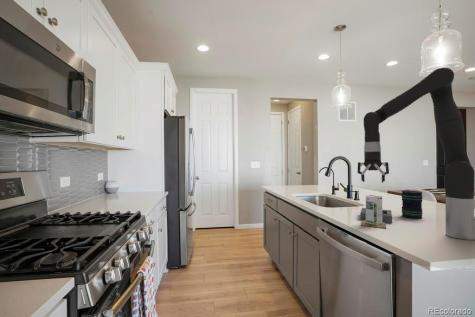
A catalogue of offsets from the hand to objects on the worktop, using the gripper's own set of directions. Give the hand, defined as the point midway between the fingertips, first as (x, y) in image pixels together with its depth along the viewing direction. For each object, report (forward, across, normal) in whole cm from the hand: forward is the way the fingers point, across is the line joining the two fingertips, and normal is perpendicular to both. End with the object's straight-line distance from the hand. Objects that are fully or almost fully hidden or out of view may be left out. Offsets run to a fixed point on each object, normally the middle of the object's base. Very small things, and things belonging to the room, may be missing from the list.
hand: (373, 182), depth 125 cm
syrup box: (+22, 0, 0) cm, 22 cm away
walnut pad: (+22, 0, 0) cm, 22 cm away
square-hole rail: (+22, +1, +15) cm, 27 cm away
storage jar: (+22, +19, +29) cm, 41 cm away
